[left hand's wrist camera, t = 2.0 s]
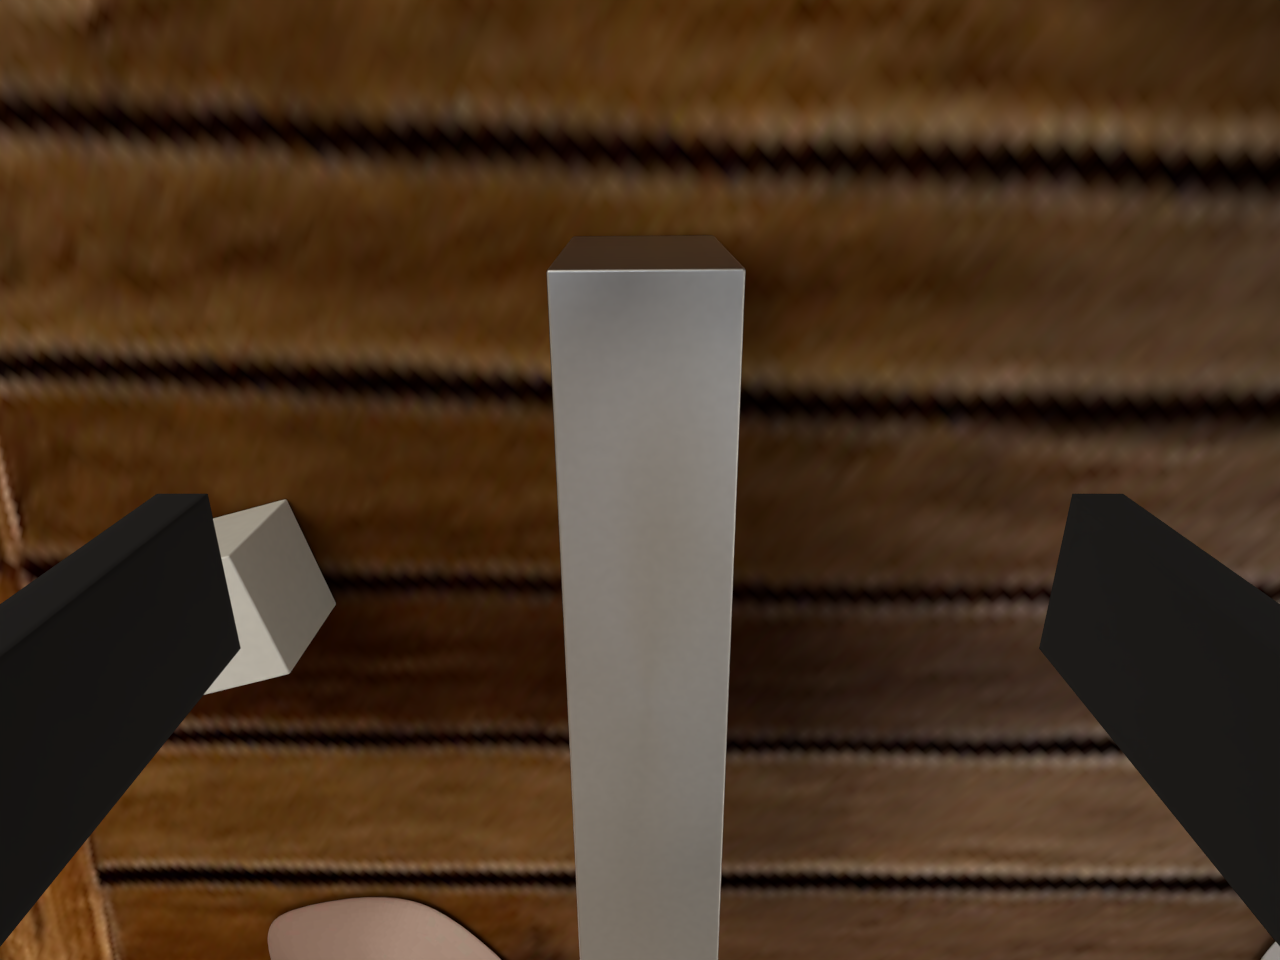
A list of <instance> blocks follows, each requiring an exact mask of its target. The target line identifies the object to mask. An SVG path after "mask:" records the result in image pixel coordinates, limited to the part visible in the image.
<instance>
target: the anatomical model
mask: <svg viewBox="0 0 1280 960" xmlns="http://www.w3.org/2000/svg"><path fill="white" fill-rule="evenodd" d="M268 946H269V952H270V957H271V960H501V959H500V958H499V957H498V956H497V955H496V954H495V953H494V952H493V951H492V950H490V949H489V948H488V947H487V946H486V945H485V944H483V943H482V942H481V941H480V940H479V939H477V938H476V937H475V936H474V935H473V934H471V933H470V932H469V931H467V930H466V929H465V928H464V927H462V926H461V925H459V924H458V923H456V922H455V921H453V920H452V919H450V918H449V917H447V916H446V915H444V914H442V913H440V912H439V911H437V910H435V909H433V908H431V907H429V906H426V905H423V904H420V903H417V902H414V901H410V900H405V899H400V898H390V897H362V898H349V899H342V900H335V901H329V902H324V903H318V904H313V905H309V906H305V907H302V908H298V909H295V910H291V911H289V912H287V913H285V914H283V915H281V916H279V917H278V918H277V919H275V920H274V921H273V923H272V924H271V926H270V929H269V932H268Z"/></svg>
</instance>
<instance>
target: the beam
mask: <svg viewBox="0 0 1280 960" xmlns="http://www.w3.org/2000/svg"><path fill="white" fill-rule="evenodd" d="M745 272H746V271H745V268H744V267H743V266H742V265H741V264H740V263H739V262H738V261H737V260H736V259H735V258H734V257H733V256H732V255H731V254H730V253H729V252H728V250H727V249H726V248H725V247H724V246H723V245H722V244H721V243H720V242H719V241H718V240H717V239H716V238H715V237H714V236H712V235H703V236H574V237H573V238H572V239H571V240H570V242H569V243H568V244H567V245H566V247H565V248H564V249H563V251H562V252H561V253H560V254H559V256H558V257H557V258H556V260H555V261H554V262H553V263H552V265H551V266H550V267H549V269H548V270H547V293H548V313H549V334H550V354H551V375H552V396H553V416H554V437H555V457H556V478H557V498H558V519H559V540H560V560H561V581H562V601H563V622H564V643H565V663H566V684H567V704H568V725H569V746H570V766H571V787H572V807H573V828H574V848H575V869H576V890H577V910H578V931H579V951H580V960H718V947H719V922H720V897H721V872H722V847H723V822H724V797H725V772H726V747H727V722H728V697H729V672H730V647H731V622H732V597H733V572H734V547H735V522H736V497H737V472H738V447H739V422H740V397H741V372H742V347H743V322H744V297H745Z"/></svg>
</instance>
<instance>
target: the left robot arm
mask: <svg viewBox="0 0 1280 960" xmlns="http://www.w3.org/2000/svg"><path fill="white" fill-rule="evenodd" d="M240 649H241V647H240V643H239V638H238V633H237V629H236V624H235V619H234V615H233V610H232V605H231V601H230V596H229V591H228V587H227V582H226V577H225V573H224V568H223V564H222V559H221V554H220V550H219V545H218V540H217V536H216V531H215V526H214V522H213V517H212V512H211V508H210V503H209V498H208V494H156V495H155V496H153V497H152V498H151V499H149V500H148V501H146V502H145V503H143V504H142V505H141V506H139V507H138V508H136V509H135V510H134V511H132V512H131V513H129V514H128V515H126V516H125V517H124V518H122V519H121V520H119V521H118V522H116V523H115V524H114V525H112V526H111V527H109V528H108V529H107V530H105V531H104V532H102V533H101V534H99V535H98V536H97V537H95V538H94V539H92V540H91V541H89V542H88V543H87V544H85V545H84V546H82V547H81V548H80V549H78V550H77V551H75V552H74V553H72V554H71V555H70V556H68V557H67V558H65V559H64V560H63V561H61V562H60V563H58V564H57V565H55V566H54V567H53V568H51V569H50V570H48V571H47V572H45V573H44V574H43V575H41V576H40V577H38V578H37V579H36V580H34V581H33V582H31V583H30V584H28V585H27V586H26V587H24V588H23V589H21V590H20V591H18V592H17V593H16V594H14V595H13V596H11V597H10V598H9V599H7V600H6V601H4V602H3V603H1V604H0V946H1V945H2V944H3V942H4V941H5V940H6V939H7V937H8V936H9V935H10V934H11V933H12V931H13V930H14V929H15V928H16V926H17V925H18V924H19V923H20V921H21V920H22V919H23V918H24V916H25V915H26V914H27V913H28V911H29V910H30V909H31V908H32V907H33V905H34V904H35V903H36V902H37V900H38V899H39V898H40V897H41V895H42V894H43V893H44V892H45V890H46V889H47V888H48V887H49V885H50V884H51V883H52V882H53V880H54V879H55V878H56V877H57V876H58V874H59V873H60V872H61V871H62V869H63V868H64V867H65V866H66V864H67V863H68V862H69V861H70V859H71V858H72V857H73V856H74V854H75V853H76V852H77V851H78V850H79V848H80V847H81V846H82V845H83V843H84V842H85V841H86V840H87V838H88V837H89V836H90V835H91V833H92V832H93V831H94V830H95V828H96V827H97V826H98V825H99V824H100V822H101V821H102V820H103V819H104V817H105V816H106V815H107V814H108V812H109V811H110V810H111V809H112V807H113V806H114V805H115V804H116V802H117V801H118V800H119V799H120V797H121V796H122V795H123V794H124V793H125V791H126V790H127V789H128V788H129V786H130V785H131V784H132V783H133V781H134V780H135V779H136V778H137V776H138V775H139V774H140V773H141V771H142V770H143V769H144V768H145V767H146V765H147V764H148V763H149V762H150V760H151V759H152V758H153V757H154V755H155V754H156V753H157V752H158V750H159V749H160V748H161V747H162V745H163V744H164V743H165V742H166V741H167V739H168V738H169V737H170V736H171V734H172V733H173V732H174V731H175V729H176V728H177V727H178V726H179V724H180V723H181V722H182V721H183V719H184V718H185V717H186V716H187V714H188V713H189V712H190V711H191V710H192V708H193V707H194V706H195V705H196V703H197V702H198V701H199V700H200V698H201V697H202V696H203V695H204V693H205V692H206V691H207V690H208V688H209V687H210V686H211V685H212V684H213V682H214V681H215V680H216V679H217V677H218V676H219V675H220V674H221V672H222V671H223V670H224V669H225V667H226V666H227V665H228V664H229V662H230V661H231V660H232V659H233V658H234V656H235V655H236V654H237V653H238V651H239V650H240ZM1039 649H1040V650H1041V651H1042V653H1043V654H1044V655H1045V656H1046V658H1047V659H1048V660H1049V661H1050V662H1051V664H1052V665H1053V666H1054V667H1055V669H1056V670H1057V671H1058V672H1059V674H1060V675H1061V676H1062V677H1063V679H1064V680H1065V681H1066V682H1067V684H1068V685H1069V686H1070V687H1071V688H1072V690H1073V691H1074V692H1075V693H1076V695H1077V696H1078V697H1079V698H1080V700H1081V701H1082V702H1083V703H1084V705H1085V706H1086V707H1087V708H1088V710H1089V711H1090V712H1091V713H1092V714H1093V716H1094V717H1095V718H1096V719H1097V721H1098V722H1099V723H1100V724H1101V726H1102V727H1103V728H1104V729H1105V731H1106V732H1107V733H1108V734H1109V736H1110V737H1111V738H1112V739H1113V741H1114V742H1115V743H1116V744H1117V745H1118V747H1119V748H1120V749H1121V750H1122V752H1123V753H1124V754H1125V755H1126V757H1127V758H1128V759H1129V760H1130V762H1131V763H1132V764H1133V765H1134V767H1135V768H1136V769H1137V770H1138V771H1139V773H1140V774H1141V775H1142V776H1143V778H1144V779H1145V780H1146V781H1147V783H1148V784H1149V785H1150V786H1151V788H1152V789H1153V790H1154V791H1155V793H1156V794H1157V795H1158V796H1159V797H1160V799H1161V800H1162V801H1163V802H1164V804H1165V805H1166V806H1167V807H1168V809H1169V810H1170V811H1171V812H1172V814H1173V815H1174V816H1175V817H1176V819H1177V820H1178V821H1179V822H1180V824H1181V825H1182V826H1183V827H1184V828H1185V830H1186V831H1187V832H1188V833H1189V835H1190V836H1191V837H1192V838H1193V840H1194V841H1195V842H1196V843H1197V845H1198V846H1199V847H1200V848H1201V850H1202V851H1203V852H1204V853H1205V854H1206V856H1207V857H1208V858H1209V859H1210V861H1211V862H1212V863H1213V864H1214V866H1215V867H1216V868H1217V869H1218V871H1219V872H1220V873H1221V874H1222V876H1223V877H1224V878H1225V879H1226V880H1227V882H1228V883H1229V884H1230V885H1231V887H1232V888H1233V889H1234V890H1235V892H1236V893H1237V894H1238V895H1239V897H1240V898H1241V899H1242V900H1243V902H1244V903H1245V904H1246V905H1247V907H1248V908H1249V909H1250V910H1251V911H1252V913H1253V914H1254V915H1255V916H1256V918H1257V919H1258V920H1259V921H1260V923H1261V924H1262V925H1263V926H1264V928H1265V929H1266V930H1267V931H1268V933H1269V934H1270V935H1271V936H1272V937H1273V939H1274V940H1275V941H1276V942H1277V944H1278V945H1279V946H1280V604H1279V603H1277V602H1276V601H1274V600H1273V599H1271V598H1270V597H1269V596H1267V595H1266V594H1264V593H1263V592H1262V591H1260V590H1259V589H1257V588H1256V587H1254V586H1253V585H1252V584H1250V583H1249V582H1247V581H1246V580H1244V579H1243V578H1242V577H1240V576H1239V575H1237V574H1236V573H1235V572H1233V571H1232V570H1230V569H1229V568H1227V567H1226V566H1225V565H1223V564H1222V563H1220V562H1219V561H1217V560H1216V559H1215V558H1213V557H1212V556H1210V555H1209V554H1208V553H1206V552H1205V551H1203V550H1202V549H1200V548H1199V547H1198V546H1196V545H1195V544H1193V543H1192V542H1191V541H1189V540H1188V539H1186V538H1185V537H1183V536H1182V535H1181V534H1179V533H1178V532H1176V531H1175V530H1173V529H1172V528H1171V527H1169V526H1168V525H1166V524H1165V523H1164V522H1162V521H1161V520H1159V519H1158V518H1156V517H1155V516H1154V515H1152V514H1151V513H1149V512H1148V511H1146V510H1145V509H1144V508H1142V507H1141V506H1139V505H1138V504H1137V503H1135V502H1134V501H1132V500H1131V499H1129V498H1128V497H1127V496H1125V495H1124V494H1072V498H1071V503H1070V508H1069V512H1068V517H1067V522H1066V526H1065V531H1064V536H1063V540H1062V545H1061V550H1060V554H1059V559H1058V564H1057V568H1056V573H1055V577H1054V582H1053V587H1052V591H1051V596H1050V601H1049V605H1048V610H1047V615H1046V619H1045V624H1044V629H1043V633H1042V638H1041V643H1040V647H1039Z"/></svg>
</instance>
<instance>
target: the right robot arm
mask: <svg viewBox="0 0 1280 960" xmlns="http://www.w3.org/2000/svg"><path fill="white" fill-rule="evenodd" d="M1261 960H1280V946H1279V945H1278V944H1277V942H1275V943H1274V944H1273V945H1272V946H1271V947H1270V948H1269V949H1268V951H1267V952H1266V953H1265V954H1264V956H1263V957H1262V959H1261Z"/></svg>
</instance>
